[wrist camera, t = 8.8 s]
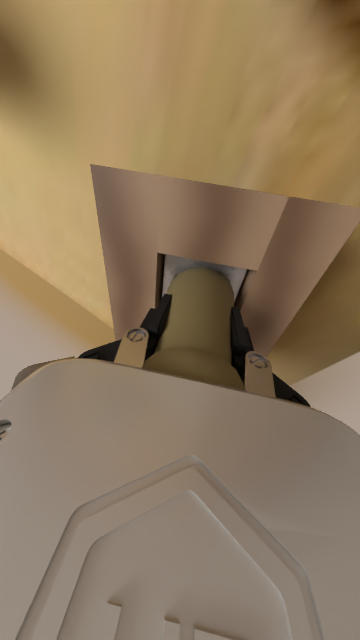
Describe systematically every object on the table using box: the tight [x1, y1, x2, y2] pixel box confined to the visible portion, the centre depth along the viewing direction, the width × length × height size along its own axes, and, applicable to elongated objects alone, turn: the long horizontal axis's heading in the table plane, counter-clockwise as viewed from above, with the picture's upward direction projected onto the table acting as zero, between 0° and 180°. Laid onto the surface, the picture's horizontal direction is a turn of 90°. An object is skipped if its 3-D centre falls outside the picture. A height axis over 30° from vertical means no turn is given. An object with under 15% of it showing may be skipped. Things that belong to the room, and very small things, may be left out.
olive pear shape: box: [142, 267, 246, 391], centre depth 10 cm, size 6×6×11 cm
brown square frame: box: [90, 164, 360, 357], centre depth 17 cm, size 16×16×8 cm
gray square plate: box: [162, 254, 247, 302], centre depth 16 cm, size 7×7×1 cm
